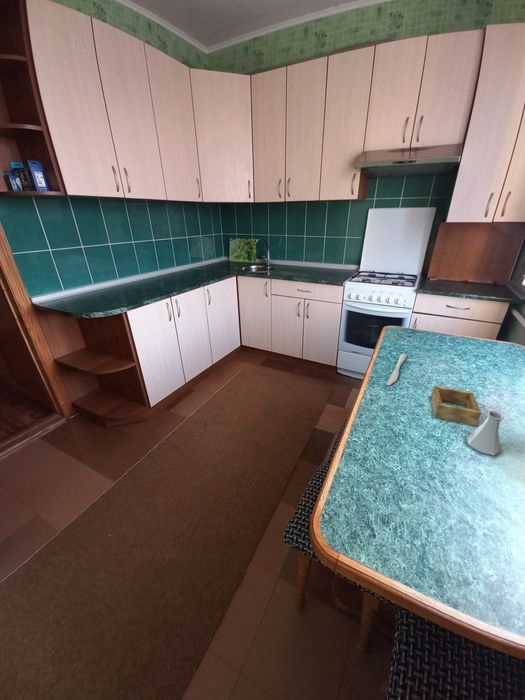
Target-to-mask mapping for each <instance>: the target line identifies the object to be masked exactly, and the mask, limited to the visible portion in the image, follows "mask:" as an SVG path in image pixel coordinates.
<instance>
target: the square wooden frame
mask: <svg viewBox="0 0 525 700" xmlns="http://www.w3.org/2000/svg"><path fill="white" fill-rule="evenodd" d="M430 399H431V405H432V410H433V414H434V418H437V419H441V420H446V421H452V422H455V423H456V422H457V423H461V424H466V425H470V426H477V424H478V422H479V420H480V417H481V415H482V412H481V409H480V407H479V404H478V402H477V400H476V397H475V395H474V392H473V391H466V390H461V389H456V388H455V389H454V388H449V387H444V386H443V387H442V386H438V385H437V386H436V385H434V386H433V389H432V392H431V396H430ZM442 402H445V403H451V404H456V405H459V406H455V405H451V404H445V403H442ZM460 405H461V406H465V407H461V406H460Z"/></svg>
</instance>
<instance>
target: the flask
mask: <svg viewBox="0 0 525 700" xmlns="http://www.w3.org/2000/svg"><path fill="white" fill-rule="evenodd" d="M502 420H504V414H502V413H500V412H499V411H497V410H496V411H495V410H489V411H487V417H486V419H485V420H484V422H483V423H482V424H481V425H479V427H477V428H476V429H475V430H474V431H472V432H471V433H470V434H468V435H467V436H466V442H467V445H468V446H470V447H471V448H472V449H474V450H476V451H478V452H479V453H482V454H485V455H490V456H495V455H497V454H498V453H500V451H501V445H500V433H499V431H500V430H499V429H500V424H501V421H502Z"/></svg>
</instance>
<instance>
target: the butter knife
mask: <svg viewBox="0 0 525 700" xmlns="http://www.w3.org/2000/svg"><path fill="white" fill-rule="evenodd" d="M407 357H408V355H407V354H406V353H401V354H400V355H399V358H398V360H397V363H396V366H395V368H394V369H393V371H392V373H391V374H390V376H389V378H388V380H387V382H386V384H385V385H386V386H390V385H391V386H392V384H394V383H395V382H397V380H398V378H399V375H400V367H401V365H402V364H403V363H404V362H405V360H406V359H407Z"/></svg>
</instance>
